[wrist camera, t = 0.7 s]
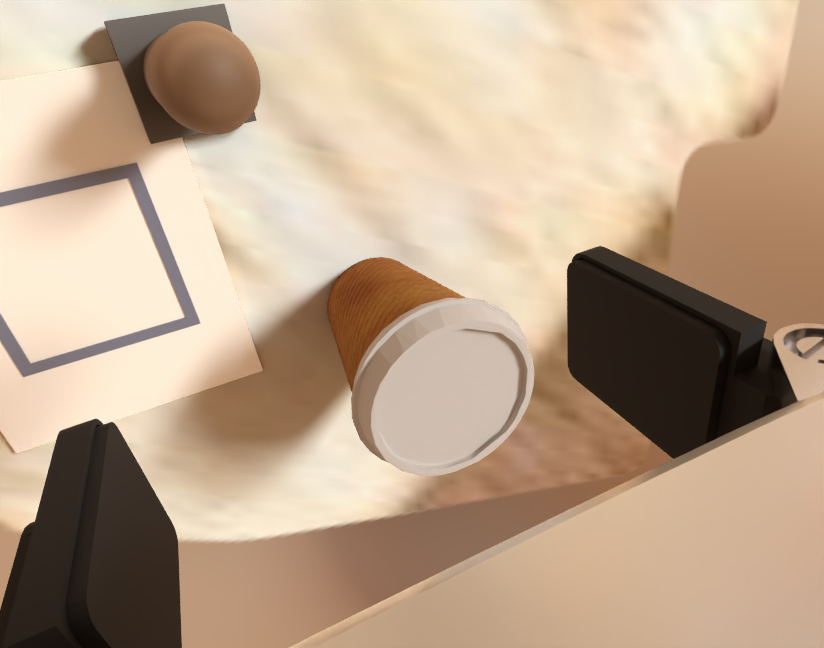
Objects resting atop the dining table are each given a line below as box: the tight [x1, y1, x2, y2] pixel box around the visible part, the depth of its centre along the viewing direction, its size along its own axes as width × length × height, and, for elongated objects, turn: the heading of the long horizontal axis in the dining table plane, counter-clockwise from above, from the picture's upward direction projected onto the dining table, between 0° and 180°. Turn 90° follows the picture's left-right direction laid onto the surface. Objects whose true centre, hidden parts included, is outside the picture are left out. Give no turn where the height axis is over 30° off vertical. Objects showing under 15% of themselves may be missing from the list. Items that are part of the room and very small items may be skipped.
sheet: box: [0, 61, 263, 454], centre depth 28 cm, size 18×14×1 cm
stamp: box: [104, 4, 260, 144], centre depth 22 cm, size 5×5×9 cm
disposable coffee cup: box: [328, 257, 534, 476], centre depth 30 cm, size 10×10×12 cm
